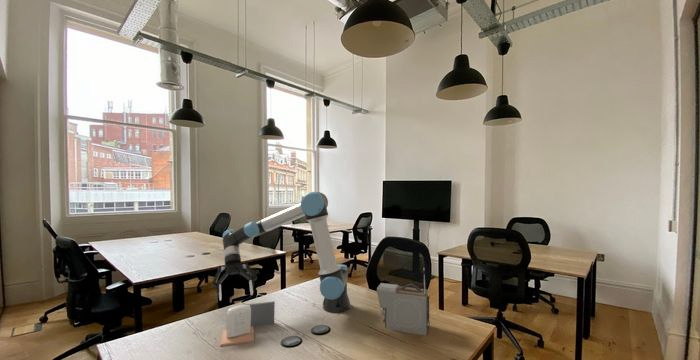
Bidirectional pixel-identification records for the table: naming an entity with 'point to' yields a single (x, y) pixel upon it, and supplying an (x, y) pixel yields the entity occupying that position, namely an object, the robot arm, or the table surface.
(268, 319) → the screen
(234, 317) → the photo printer
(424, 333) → the portable television
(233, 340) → the display pad
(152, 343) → the table surface
